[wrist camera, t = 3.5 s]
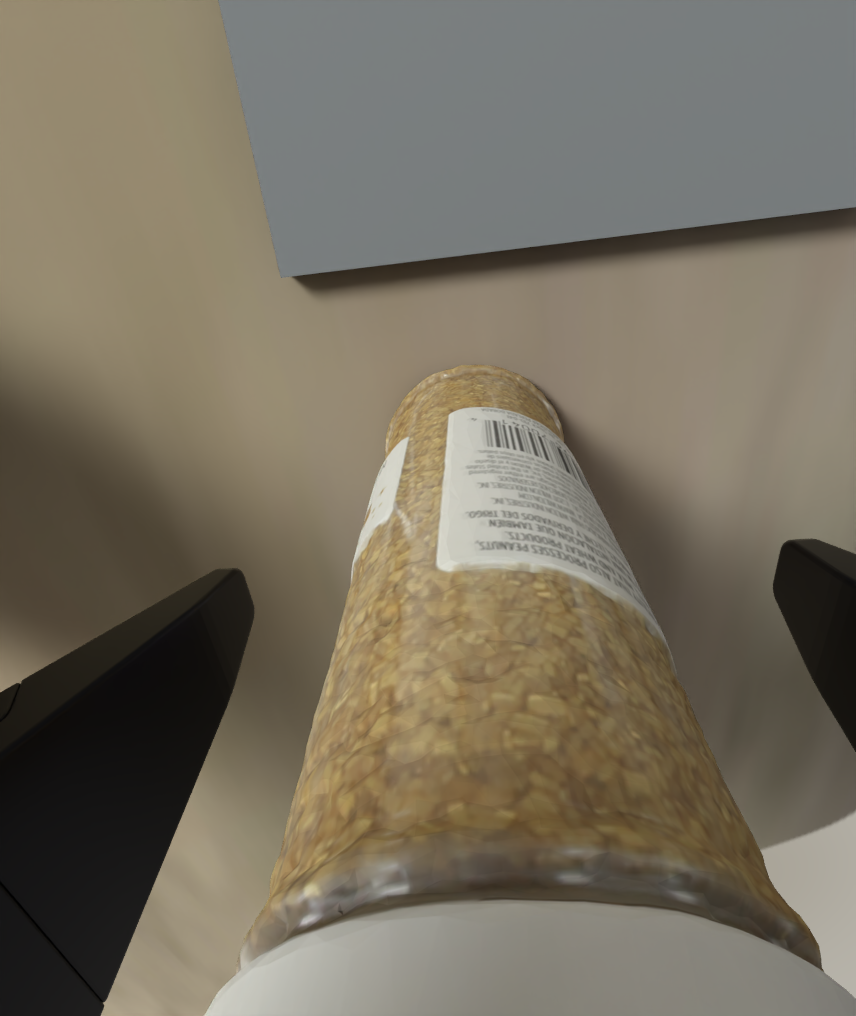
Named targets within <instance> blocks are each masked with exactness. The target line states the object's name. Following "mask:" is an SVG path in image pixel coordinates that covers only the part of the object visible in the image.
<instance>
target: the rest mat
mask: <svg viewBox="0 0 856 1016" xmlns="http://www.w3.org/2000/svg"><path fill="white" fill-rule="evenodd" d="M218 1H219V5H220V10H221V14H222V19H223V23H224V28H225V32H226V36H227V41H228V45H229V50H230V54H231V59H232V63H233V67H234V72H235V76H236V81H237V85H238V90H239V94H240V99H241V103H242V107H243V112H244V116H245V121H246V125H247V130H248V134H249V139H250V143H251V147H252V152H253V156H254V161H255V165H256V170H257V174H258V179H259V183H260V187H261V192H262V196H263V201H264V205H265V210H266V214H267V219H268V223H269V227H270V232H271V236H272V241H273V245H274V250H275V254H276V259H277V263H278V267H279V272H280V276H281V278H283V277H291V276H299V275H307V274H315V273H323V272H331V271H340V270H348V269H356V268H364V267H372V266H380V265H388V264H397V263H405V262H413V261H421V260H429V259H437V258H445V257H454V256H462V255H470V254H478V253H486V252H494V251H502V250H511V249H519V248H527V247H535V246H543V245H551V244H559V243H568V242H576V241H584V240H592V239H600V238H608V237H616V236H625V235H633V234H641V233H649V232H657V231H665V230H673V229H682V228H690V227H698V226H706V225H714V224H722V223H730V222H739V221H747V220H755V219H763V218H771V217H779V216H787V215H795V214H804V213H812V212H820V211H828V210H836V209H844V208H852V207H856V0H218Z"/></svg>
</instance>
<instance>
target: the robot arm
mask: <svg viewBox="0 0 856 1016" xmlns="http://www.w3.org/2000/svg"><path fill="white" fill-rule="evenodd" d="M773 592H774V596H775V599H776V602H777V604H778V606H779V608H780V610H781V612H782V615H783V617H784V619H785V621H786V623H787V626H788V628H789V630H790V632H791V634H792V637H793V639H794V641H795V643H796V645H797V648H798V650H799V652H800V654H801V656H802V658H803V661H804V663H805V665H806V667H807V669H808V671H809V673H810V675H811V677H812V679H813V681H814V683H815V685H816V686H817V688H818V690H819V692H820V693H821V695H822V697H823V699H824V700H825V702H826V704H827V705H828V707H829V708H830V710H831V712H832V713H833V715H834V717H835V718H836V720H837V722H838V723H839V725H840V727H841V728H842V730H843V732H844V733H845V735H846V737H847V738H848V740H849V742H850V743H851V745H852V747H853V748H854V750H855V752H856V554H854V553H851V552H849V551H846V550H843V549H841V548H838V547H836V546H833V545H830V544H828V543H825V542H823V541H820V540H817V539H796V540H788V541H786V542H785V543H784V544H783V545H782V547H781V550H780V554H779V559H778V563H777V568H776V572H775V577H774V581H773ZM253 619H254V605H253V601H252V598H251V595H250V592H249V589H248V586H247V583H246V580H245V577H244V575H243V573H242V571H241V570H239V569H237V568H228V569H217V570H214V571H212V572H211V573H209V574H207V575H205V576H204V577H202V578H200V579H198V580H197V581H195V582H193V583H191V584H190V585H188V586H186V587H184V588H183V589H181V590H179V591H177V592H176V593H174V594H172V595H170V596H169V597H167V598H165V599H163V600H162V601H160V602H158V603H156V604H155V605H153V606H151V607H149V608H148V609H146V610H144V611H142V612H141V613H139V614H137V615H135V616H134V617H132V618H130V619H128V620H127V621H125V622H123V623H121V624H120V625H118V626H116V627H114V628H113V629H111V630H109V631H107V632H106V633H104V634H102V635H100V636H99V637H97V638H95V639H93V640H92V641H90V642H88V643H86V644H85V645H83V646H81V647H79V648H78V649H76V650H74V651H72V652H71V653H69V654H67V655H65V656H64V657H62V658H60V659H58V660H57V661H55V662H53V663H51V664H49V665H48V666H46V667H44V668H42V669H41V670H39V671H37V672H35V673H34V674H32V675H30V676H28V677H27V678H25V679H23V680H22V682H21V684H20V683H16V684H14V685H12V686H11V687H9V688H7V689H5V690H4V691H2V692H0V1016H101V1013H102V1011H103V1008H104V1004H103V1002H105V1001H106V1000H107V997H108V995H109V993H110V990H111V988H112V985H113V983H114V980H115V978H116V975H117V973H118V971H119V968H120V966H121V963H122V961H123V958H124V956H125V954H126V951H127V949H128V946H129V944H130V941H131V939H132V936H133V934H134V932H135V929H136V927H137V924H138V922H139V919H140V917H141V915H142V912H143V910H144V907H145V905H146V902H147V900H148V897H149V895H150V893H151V890H152V888H153V885H154V883H155V880H156V878H157V876H158V873H159V871H160V868H161V866H162V863H163V861H164V858H165V856H166V854H167V851H168V849H169V846H170V844H171V841H172V839H173V837H174V834H175V832H176V829H177V827H178V824H179V822H180V819H181V817H182V815H183V812H184V810H185V807H186V805H187V802H188V800H189V798H190V795H191V793H192V790H193V788H194V785H195V783H196V780H197V778H198V776H199V773H200V771H201V768H202V766H203V763H204V761H205V759H206V756H207V754H208V751H209V749H210V746H211V744H212V741H213V739H214V737H215V734H216V732H217V729H218V727H219V724H220V722H221V719H222V717H223V715H224V712H225V710H226V707H227V705H228V702H229V700H230V697H231V694H232V691H233V688H234V685H235V682H236V679H237V675H238V672H239V668H240V665H241V661H242V658H243V654H244V651H245V647H246V644H247V640H248V637H249V633H250V630H251V627H252V623H253Z"/></svg>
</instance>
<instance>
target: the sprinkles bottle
mask: <svg viewBox="0 0 856 1016" xmlns="http://www.w3.org/2000/svg"><path fill="white" fill-rule="evenodd" d="M385 456H386V457H385V461H384V463H383V465H382V467H381V469H380V471H379V474H378V476H377V479H376V482H375V485H374V488H373V491H372V495H371V498H370V502H369V506H368V509H367V513H366V517H365V521H364V524H363V528H362V531H361V534H360V538H359V541H358V545H357V549H356V553H355V556H354V560H353V565H352V573H351V587H350V590H349V592H348V596H347V599H346V604H345V609H344V612H343V615H342V620H341V624H340V627H339V632H338V635H337V640H336V644H335V648H334V651H333V654H332V657H331V662H330V667H329V671H328V674H327V677H326V679H325V682H324V686H323V690H322V693H321V697H320V700H319V704H318V706H317V709H316V712H315V715H314V719H313V726H312V729H311V733H310V736H309V739H308V743H307V747H306V753H305V758H304V763H303V767H302V771H301V775H300V777H299V781H298V784H297V787H296V791H295V794H294V797H293V801H292V805H291V810H290V814H289V818H288V822H287V826H286V830H285V836H284V841H283V845H282V850H281V854H280V856H279V858H278V860H277V861H276V864H275V867H274V870H273V873H272V876H271V880H270V897H269V899H268V901H267V903H266V905H265V907H264V909H263V910H262V911H261V913H260V914H259V916H258V917H257V918H256V920H255V923H254V925H253V926H252V927H251V929H250V930H249V932H248V933H247V935H246V936H245V938H244V942H243V945H242V948H241V951H240V954H239V958H238V961H237V974H236V975H235V976H234V977H233V978H231V979H230V980H229V981H228V982H227V983H226V984H225V985H224V986H223V987H222V989H221V990H220V991H219V992H218V993H217V995H216V997H215V998H214V999H213V1001H212V1003H211V1005H210V1006H209V1008H208V1010H207V1012H206V1014H205V1015H204V1016H856V999H855V998H854V997H853V996H852V995H851V994H850V993H849V992H848V991H847V990H846V989H844V988H843V987H842V986H840V985H839V984H838V983H837V982H835V981H834V980H833V979H832V978H830V977H829V976H828V975H826V974H825V973H824V971H823V969H822V965H821V955H820V950H819V945H818V943H817V942H816V940H815V938H814V936H813V935H812V933H811V931H810V929H809V928H808V926H807V925H806V924H805V922H804V921H803V920H802V918H801V917H800V915H799V914H797V913H796V912H795V911H794V910H793V909H792V908H791V907H789V905H788V904H787V903H786V902H785V900H784V899H783V898H782V897H781V895H780V894H779V893H778V892H777V891H776V889H775V888H774V886H773V884H772V882H771V881H770V879H769V876H768V873H767V870H766V867H765V864H764V859H763V856H762V854H761V851H760V849H759V847H758V845H757V843H756V841H755V839H754V837H753V835H752V833H751V831H750V829H749V827H748V826H747V824H746V822H745V820H744V818H743V816H742V814H741V812H740V810H739V808H738V807H737V805H736V803H735V801H734V799H733V797H732V795H731V793H730V791H729V790H728V788H727V786H726V784H725V782H724V780H723V778H722V775H721V773H720V770H719V768H718V766H717V764H716V761H715V758H714V756H713V754H712V752H711V750H710V748H709V746H708V744H707V742H706V740H705V739H704V735H703V732H702V729H701V727H700V725H699V724H698V722H697V720H696V718H695V715H694V713H693V710H692V708H691V705H690V703H689V700H688V698H687V695H686V693H685V691H684V689H683V688H682V686H681V685H680V683H679V682H678V677H677V671H676V668H675V664H674V661H673V657H672V654H671V652H670V649H669V647H668V644H667V641H666V639H665V637H664V635H663V632H662V630H661V628H660V626H659V624H658V622H657V620H656V618H655V616H654V614H653V612H652V610H651V608H650V607H649V605H648V603H647V601H646V599H645V597H644V595H643V593H642V591H641V589H640V587H639V585H638V583H637V581H636V579H635V577H634V575H633V572H632V570H631V568H630V566H629V564H628V562H627V560H626V558H625V556H624V554H623V552H622V551H621V549H620V547H619V545H618V543H617V541H616V539H615V537H614V535H613V533H612V531H611V529H610V527H609V525H608V523H607V521H606V519H605V517H604V515H603V513H602V511H601V509H600V507H599V505H598V503H597V501H596V499H595V497H594V495H593V493H592V491H591V489H590V487H589V485H588V483H587V481H586V479H585V477H584V475H583V473H582V470H581V468H580V466H579V464H578V463H577V461H576V459H575V458H574V456H573V454H572V453H571V451H570V450H569V449H568V447H567V446H566V445H565V444H564V434H563V430H562V426H561V423H560V421H559V418H558V416H557V413H556V411H555V409H554V407H553V406H552V405H551V404H550V403H549V402H548V400H547V399H546V397H545V395H544V394H543V393H542V392H541V391H540V390H538V389H537V388H536V387H535V386H534V385H533V384H532V383H531V382H530V381H528V380H527V379H526V378H524V377H522V376H520V375H518V374H516V373H512V372H510V371H508V370H506V369H503V368H499V367H495V366H491V365H488V366H485V365H470V366H467V365H462V366H458V367H456V368H453V369H448V370H445V371H442V372H439V373H435V374H433V375H431V376H429V377H427V378H426V379H424V380H423V381H422V382H420V383H419V384H418V385H417V386H416V387H415V388H414V389H413V390H412V391H411V392H410V393H409V394H408V395H407V396H406V397H405V398H404V400H403V401H402V403H401V405H400V407H399V408H398V409H397V410H396V412H395V414H394V416H393V418H392V420H391V422H390V424H389V427H388V431H387V436H386V448H385Z"/></svg>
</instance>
